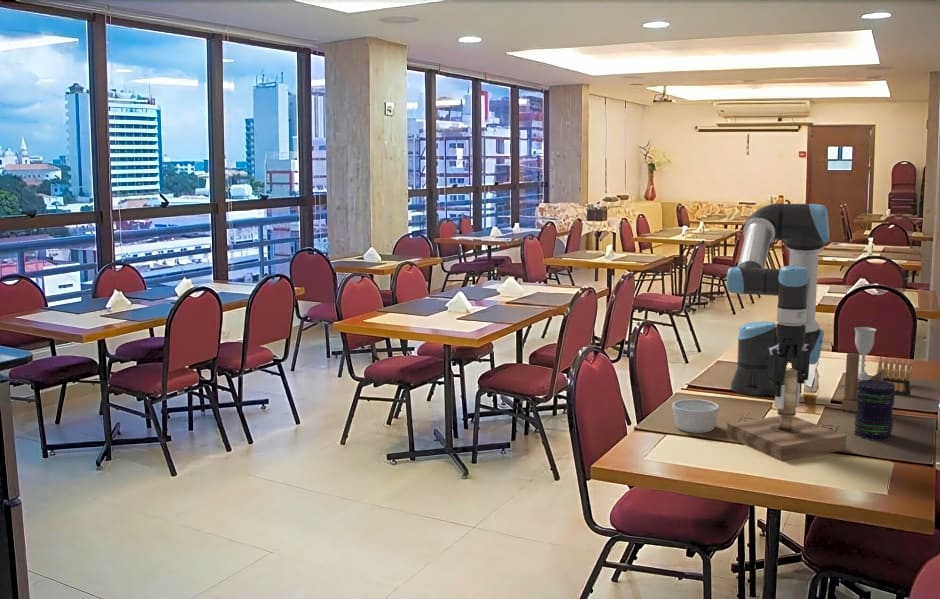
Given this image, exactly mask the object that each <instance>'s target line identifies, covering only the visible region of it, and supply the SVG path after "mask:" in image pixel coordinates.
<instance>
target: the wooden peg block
mask: <svg viewBox="0 0 940 599" xmlns="http://www.w3.org/2000/svg"><path fill="white" fill-rule="evenodd" d="M845 362H846V365H845V380H844V394H843V395H844V396H843V399H842V401H841V411H843V410H845V411H844V412H850V411H852V412H851V413H856V412H857V400H856V398H857V387H858V382H859V380H858V372H859V371H860V370H859V369H860V368H859V366H860V353H855V352H849V353H847V354H846V361H845ZM883 374H884V369H883V368H882V370H881V371H880V372H878V373H877V372H876V374H874V375H873V376H872V377H869V380H877V381H883Z"/></svg>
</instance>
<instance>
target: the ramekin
mask: <svg viewBox="0 0 940 599" xmlns="http://www.w3.org/2000/svg"><path fill="white" fill-rule="evenodd" d="M671 404H672V406H671V407H672V410H673V411H672V413H673V422H674V423H673V424H674V426H676V428H677V429H678V430H680V431H683V432H687V433H693V434H694V433H695V434H699V433H700V434H703V433H709V432H712V431H713V430H714V429H715V427H716V425H717V420H718V413H719V410H720V406H719V405H718V404H717V403H715V402H714V401H710V400H706V399H697V398H687V399H686V398H685V399H679V400H676V401H674V402H672V403H671Z"/></svg>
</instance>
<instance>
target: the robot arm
mask: <svg viewBox="0 0 940 599" xmlns="http://www.w3.org/2000/svg"><path fill="white" fill-rule="evenodd" d="M743 237H744V240H743V243H742V247H741V252H740V256H739V259H738V263H737V266H731V267H729V268H728V269H727V273H726V290H727V292H729V293H730V294H731V293H732V294H737V295H738V294H739V295H758V296H759V295H762V296H777V309H776V322H777V323H776V322H774V321H768V320H766V321H765V320H764V321H763V320H762V321H754V322H753V321H751V322H748V323H747V322H746V323H744V324H742V325H741V326H740V327H739V331H738V337H737V340H738V343H737V345H738V346H737V362H736V363H737V365H736V369H735V372H734V375H733V378H732V380H731V383H730V390H731V389H732V391H733V392H734V393H737V394H741V395H746V396H747V395H749V396H760V397H761V396H764V395H766V396H771V395H770V394H773V396H774V407H775V408H777V409H778V408H780V409H784V393H785V386H784V385H782V384H783V380H784V376H785V371H786V368H788V364H791V365H790V366H791V368H792V369H796V370H798V375H797V393H796V408H799V406H800V395H801V393H802V385H804V384H806V383H805V382H806V381H808V380H809V375H810V374H809V373H810V365H815V364H817V363H818V362H819V360H820V357H821V352H822V346H823V341H824V335H825V330H824V329H821V327H820V323H819V322H818V321H817V320H816V310H817V308H816V307H817V305H816V304H817V288H818V287H817V286H818V267H819V252H821V250H822V249H823V248H824V247H825V243H828V242H830V224H829V215H828V209H827V207H826V206H825V205H824V204H816V203H780V202H779V203H778V202H775V203H771V204H767V205H765V206H763V207H762V206H761V208H759V209H758V210H756V211H754V212H753V213H752V214H751V215H750V216H749V217H748V218H747V220H746V221H745V223H744V226H743ZM773 241H784V242H785V243H784V247H785V248H786V249H787V250H788V251H789V262H788V264H789V265H784V266H782V267H780V268H766V265H767V259H768V254H769V249H770V244H771V242H773Z"/></svg>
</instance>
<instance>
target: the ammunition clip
mask: <svg viewBox="0 0 940 599" xmlns="http://www.w3.org/2000/svg"><path fill="white" fill-rule="evenodd" d="M882 359H883V358H882V356H880V357H879V358H878V363H877V368H876V374H877V373H878V372H880V371H881V370H883V369H884V374H883V381H884V382H889V383H892V384H894V385H895V389H894V391H895V395H897V394H902V395H901V396H905V395H910V396H911V391H912V390H911V389H912V388H911V386H912V384H911V382H912V361H911V359H908V362H907V364H906V362H905V359H902V361H901V364H900V360H899V358H896V359H895V360H896V361H895V364H894V358H893V357H891V358H890V361H889V362H888V358H887V357H885V358H884V361H883V360H882ZM900 365H901V366H900Z"/></svg>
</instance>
